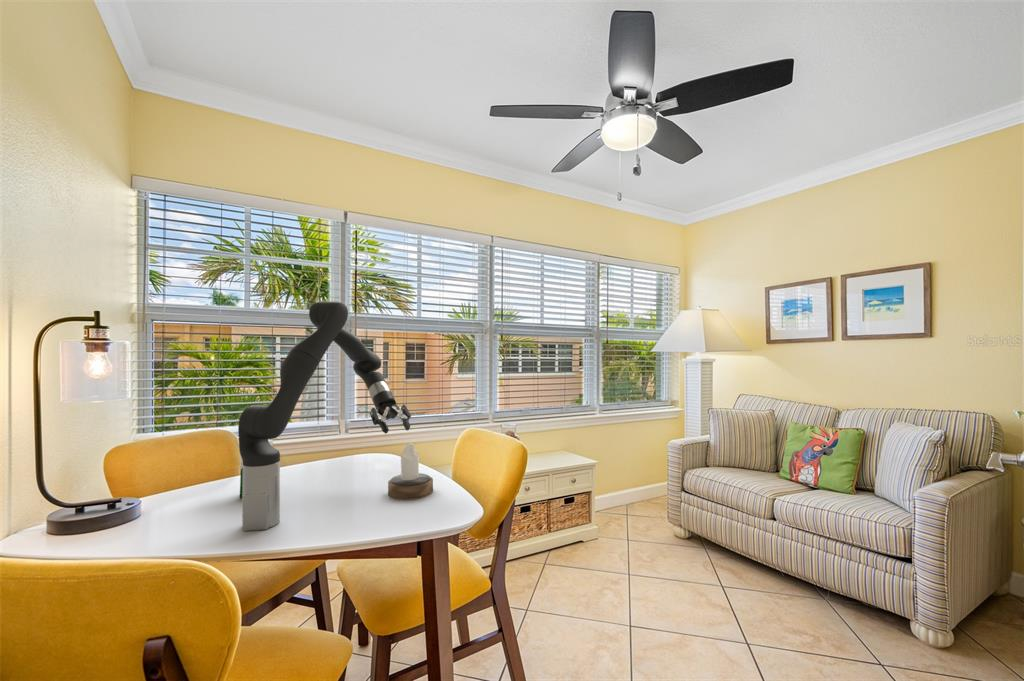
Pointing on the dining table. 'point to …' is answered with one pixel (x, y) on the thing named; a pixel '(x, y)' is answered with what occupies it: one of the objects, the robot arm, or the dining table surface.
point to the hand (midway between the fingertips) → (397, 430)
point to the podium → (410, 487)
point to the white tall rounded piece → (409, 463)
